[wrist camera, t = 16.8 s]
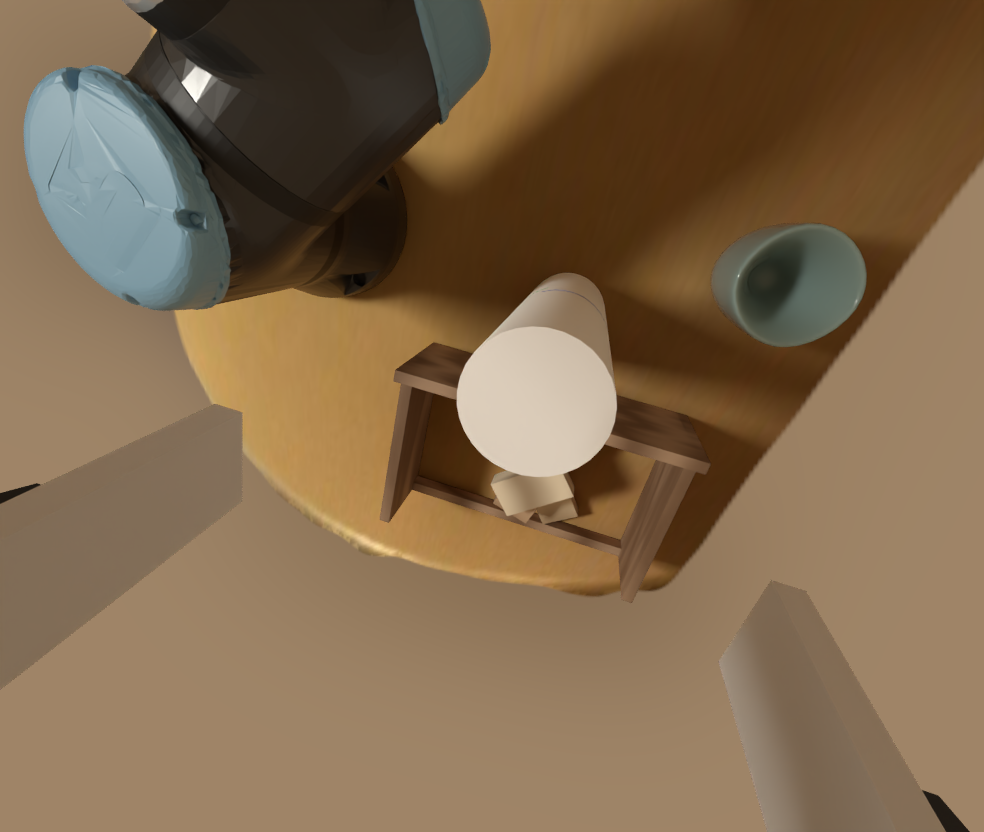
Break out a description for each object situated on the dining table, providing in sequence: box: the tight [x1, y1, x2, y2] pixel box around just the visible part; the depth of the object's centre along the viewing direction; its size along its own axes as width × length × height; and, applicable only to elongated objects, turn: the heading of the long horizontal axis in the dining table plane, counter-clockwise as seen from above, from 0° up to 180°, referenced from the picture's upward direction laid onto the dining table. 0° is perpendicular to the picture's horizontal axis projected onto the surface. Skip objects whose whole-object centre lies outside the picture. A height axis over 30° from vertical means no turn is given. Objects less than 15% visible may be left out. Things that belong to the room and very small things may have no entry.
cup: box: [711, 223, 867, 347], centre depth 34 cm, size 8×8×10 cm
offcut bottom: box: [537, 497, 578, 524], centre depth 49 cm, size 14×4×2 cm, turn 22°
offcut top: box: [491, 471, 574, 516], centre depth 45 cm, size 7×4×2 cm, turn 115°
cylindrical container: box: [457, 273, 617, 477], centre depth 32 cm, size 7×7×25 cm
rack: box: [380, 343, 711, 603], centre depth 45 cm, size 26×17×10 cm, turn 76°
